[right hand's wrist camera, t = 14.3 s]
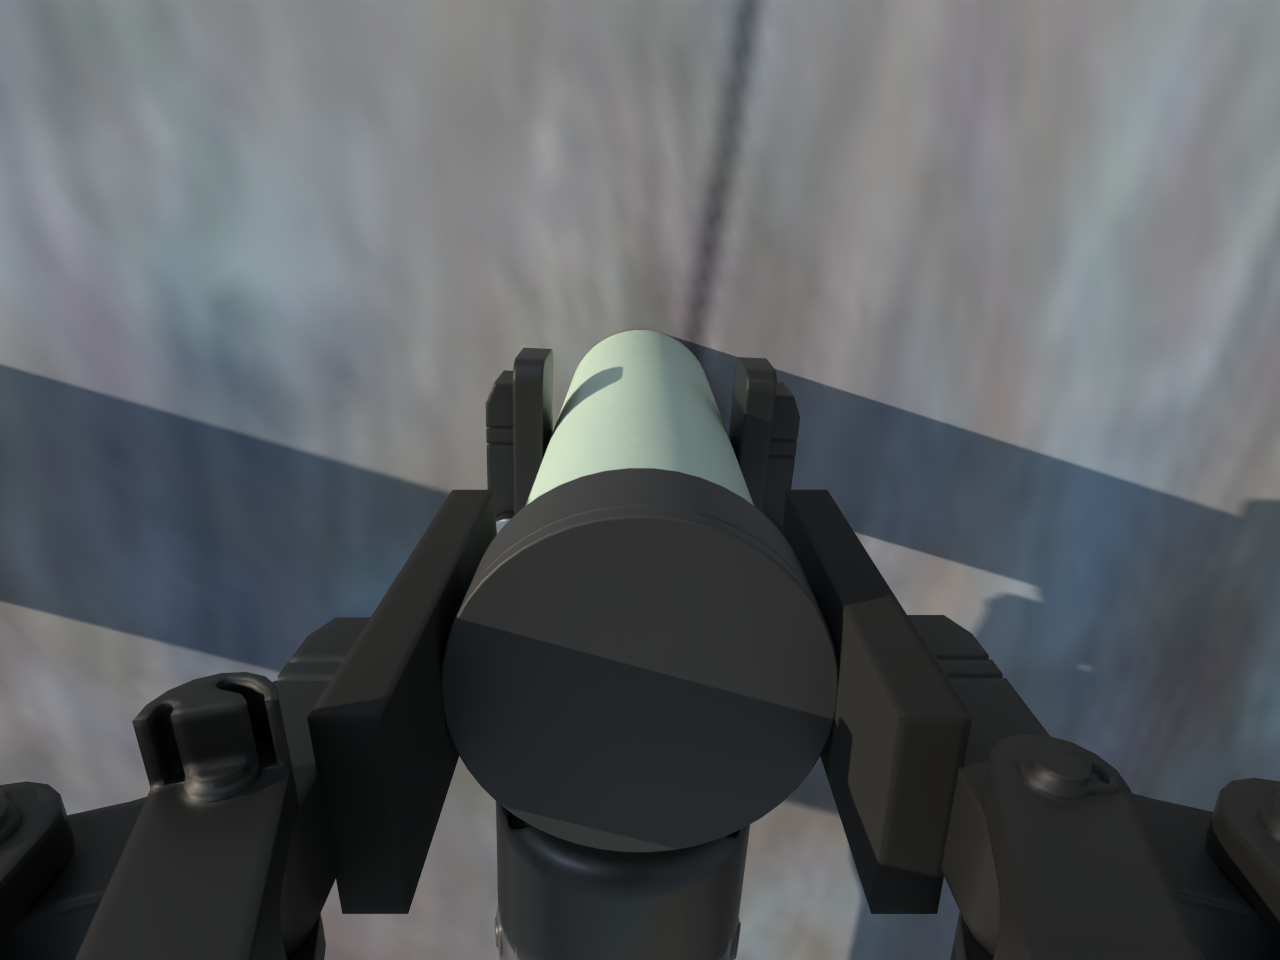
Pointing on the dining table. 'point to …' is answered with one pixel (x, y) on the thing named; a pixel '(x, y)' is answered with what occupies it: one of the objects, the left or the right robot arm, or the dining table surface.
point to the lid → (639, 664)
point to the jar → (639, 416)
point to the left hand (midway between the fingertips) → (646, 362)
